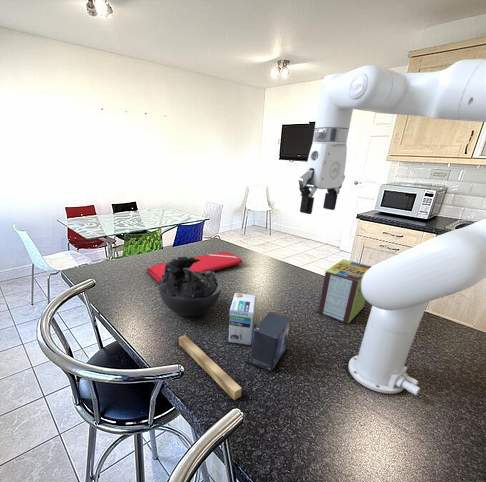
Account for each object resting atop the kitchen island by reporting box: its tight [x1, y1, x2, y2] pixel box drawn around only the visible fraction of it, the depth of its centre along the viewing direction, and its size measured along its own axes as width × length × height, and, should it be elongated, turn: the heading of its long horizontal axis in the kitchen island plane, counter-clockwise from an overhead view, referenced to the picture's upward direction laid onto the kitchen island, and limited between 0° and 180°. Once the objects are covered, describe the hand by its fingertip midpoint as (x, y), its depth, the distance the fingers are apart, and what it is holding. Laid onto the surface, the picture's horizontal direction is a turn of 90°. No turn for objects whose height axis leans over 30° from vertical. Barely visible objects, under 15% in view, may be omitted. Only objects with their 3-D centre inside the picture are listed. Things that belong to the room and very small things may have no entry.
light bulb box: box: [228, 292, 257, 346], centre depth 85 cm, size 11×7×11 cm, turn 168°
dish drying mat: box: [146, 251, 244, 284], centre depth 131 cm, size 16×41×4 cm, turn 121°
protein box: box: [317, 258, 373, 325], centre depth 98 cm, size 10×15×16 cm
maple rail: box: [178, 334, 243, 401], centre depth 73 cm, size 24×2×2 cm, turn 36°
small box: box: [249, 311, 291, 372], centre depth 76 cm, size 11×6×10 cm, turn 148°
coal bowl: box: [158, 255, 222, 317], centre depth 94 cm, size 20×20×19 cm
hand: (317, 211), depth 75 cm, fingers open, 9 cm apart
